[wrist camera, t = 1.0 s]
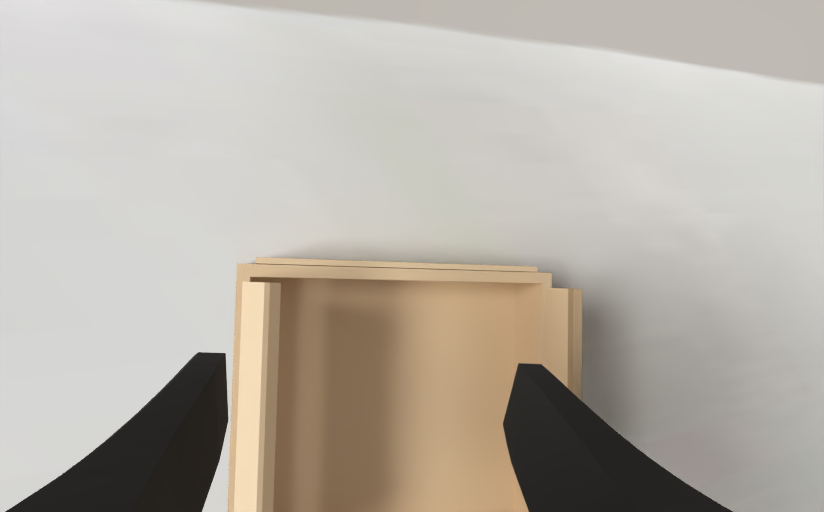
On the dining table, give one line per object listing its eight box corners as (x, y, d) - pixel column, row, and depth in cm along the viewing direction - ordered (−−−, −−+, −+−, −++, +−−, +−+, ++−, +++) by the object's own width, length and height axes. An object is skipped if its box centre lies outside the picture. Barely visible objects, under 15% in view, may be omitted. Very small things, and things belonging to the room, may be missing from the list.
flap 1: (241, 281, 20) (269, 282, 17) (251, 281, 20) (280, 282, 17) (229, 596, 19) (257, 655, 16) (239, 593, 19) (268, 651, 16)
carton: (517, 533, 27) (549, 563, 24) (226, 572, 22) (223, 615, 20) (520, 268, 27) (551, 267, 24) (239, 259, 23) (237, 256, 20)
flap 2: (552, 548, 23) (581, 596, 20) (544, 548, 23) (571, 596, 20) (554, 288, 24) (582, 288, 20) (546, 287, 24) (573, 288, 20)
